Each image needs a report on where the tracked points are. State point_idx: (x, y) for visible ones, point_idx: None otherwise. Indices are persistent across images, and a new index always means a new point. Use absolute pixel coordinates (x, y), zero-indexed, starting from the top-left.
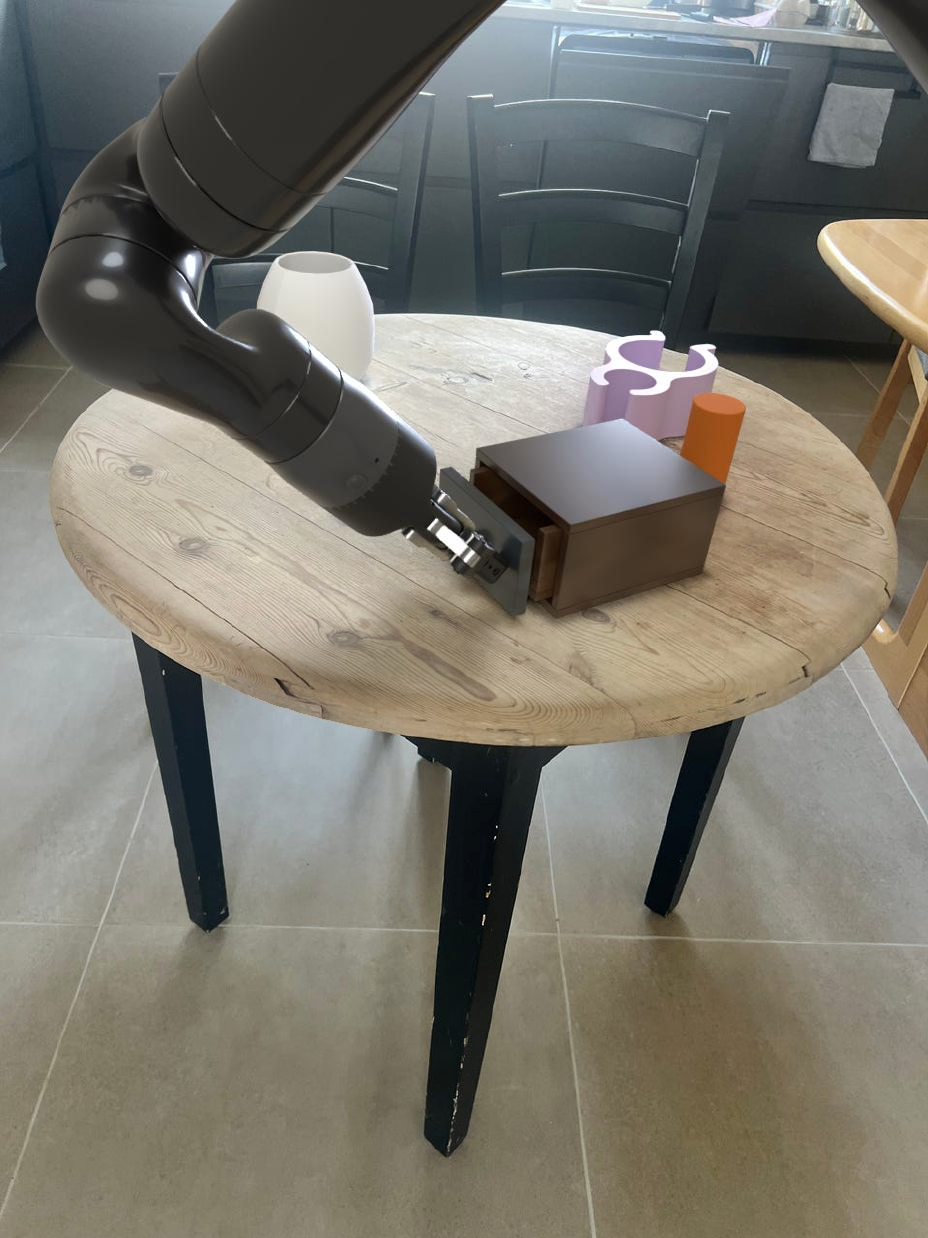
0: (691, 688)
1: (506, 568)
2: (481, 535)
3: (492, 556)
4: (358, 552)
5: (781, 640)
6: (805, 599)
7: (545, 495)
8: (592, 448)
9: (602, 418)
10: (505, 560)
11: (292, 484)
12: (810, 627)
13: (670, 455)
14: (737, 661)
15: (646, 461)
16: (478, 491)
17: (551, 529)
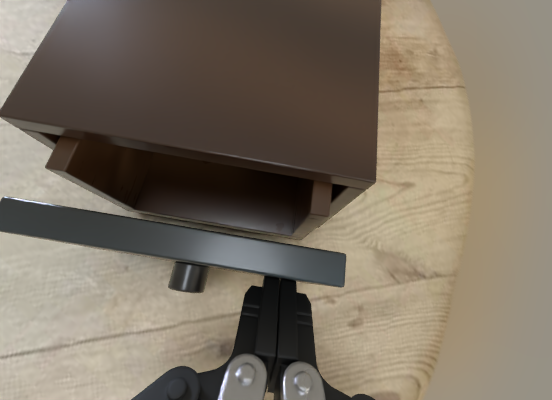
0: (466, 198)
1: (305, 294)
2: (307, 388)
3: (314, 344)
4: (34, 358)
5: (443, 86)
6: (407, 29)
7: (258, 141)
8: None
9: None
10: (295, 288)
11: None
12: (438, 56)
13: None
14: (451, 135)
15: None
16: (129, 222)
17: (325, 197)
